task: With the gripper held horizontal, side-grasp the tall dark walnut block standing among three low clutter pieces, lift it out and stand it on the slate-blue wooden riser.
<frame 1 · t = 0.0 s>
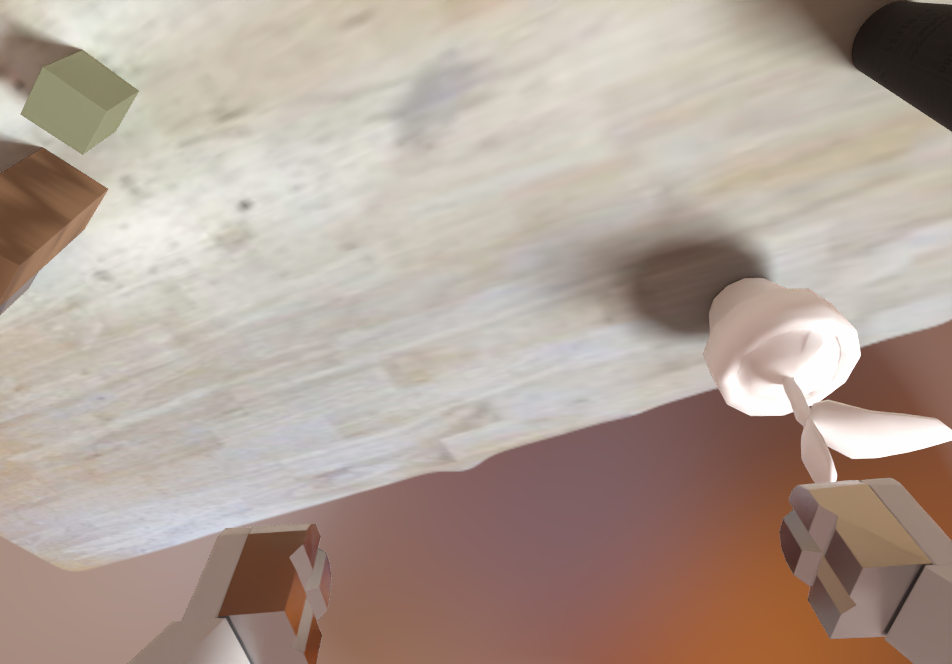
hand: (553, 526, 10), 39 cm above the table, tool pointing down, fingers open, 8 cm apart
walnut block: (64, 190, 46), on the table
olive block: (100, 91, 41), on the table
drinking cup: (884, 38, 41), on the table
potted plant: (746, 301, 55), on the table
mauve grey cube: (11, 257, 49), on the table
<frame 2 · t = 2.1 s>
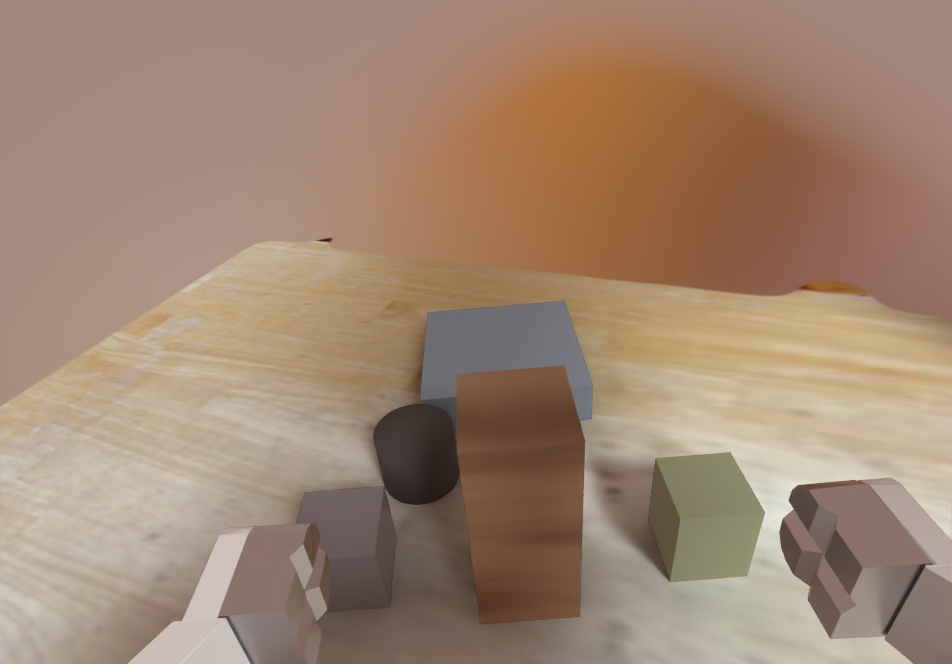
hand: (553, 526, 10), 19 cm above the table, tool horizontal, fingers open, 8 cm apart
charcoal cylinder: (422, 475, 37), on the table
walnut block: (524, 575, 30), on the table
slate riser: (502, 375, 46), on the table
olive block: (694, 546, 31), on the table
mauve grey cube: (354, 573, 32), on the table
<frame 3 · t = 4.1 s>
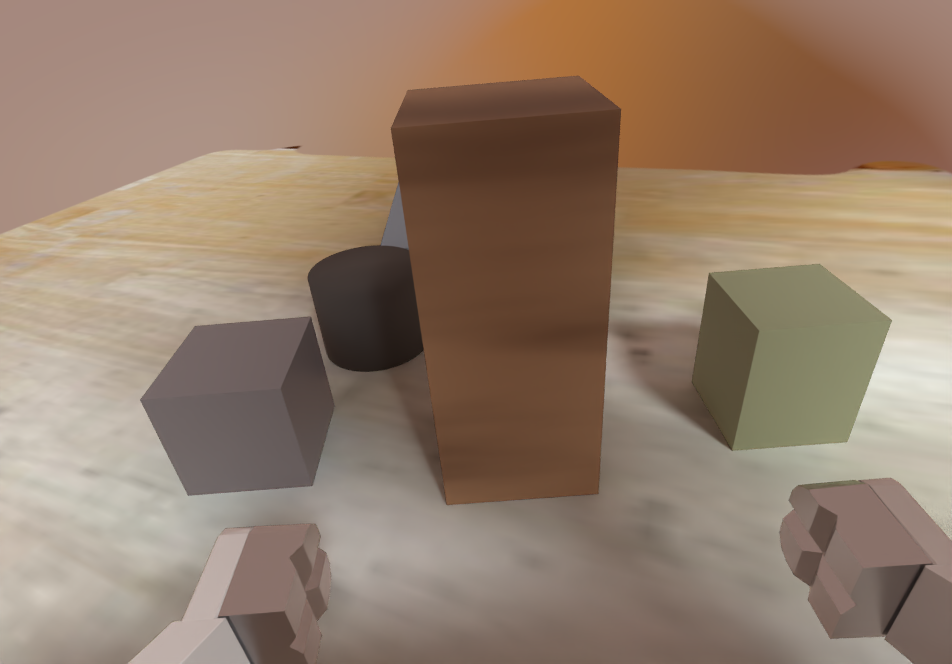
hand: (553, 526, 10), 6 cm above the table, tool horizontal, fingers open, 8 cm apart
charcoal cylinder: (378, 342, 28), on the table
walnut block: (515, 446, 21), on the table
slate riser: (491, 247, 36), on the table
olive block: (763, 410, 21), on the table
mauve grey cube: (268, 448, 22), on the table
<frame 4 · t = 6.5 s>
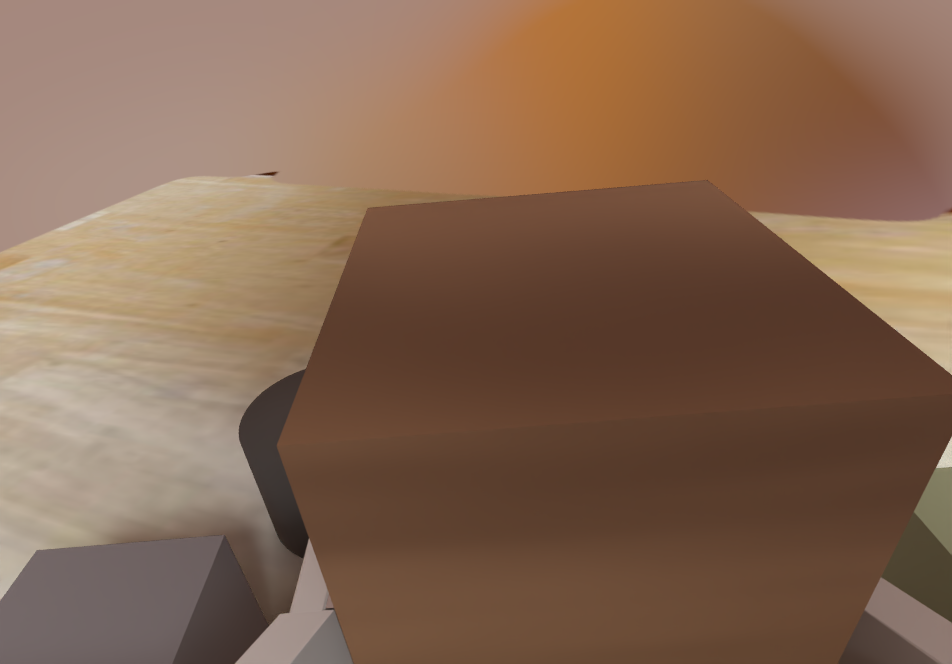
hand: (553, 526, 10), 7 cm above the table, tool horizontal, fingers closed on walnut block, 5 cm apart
charcoal cylinder: (349, 499, 19), on the table
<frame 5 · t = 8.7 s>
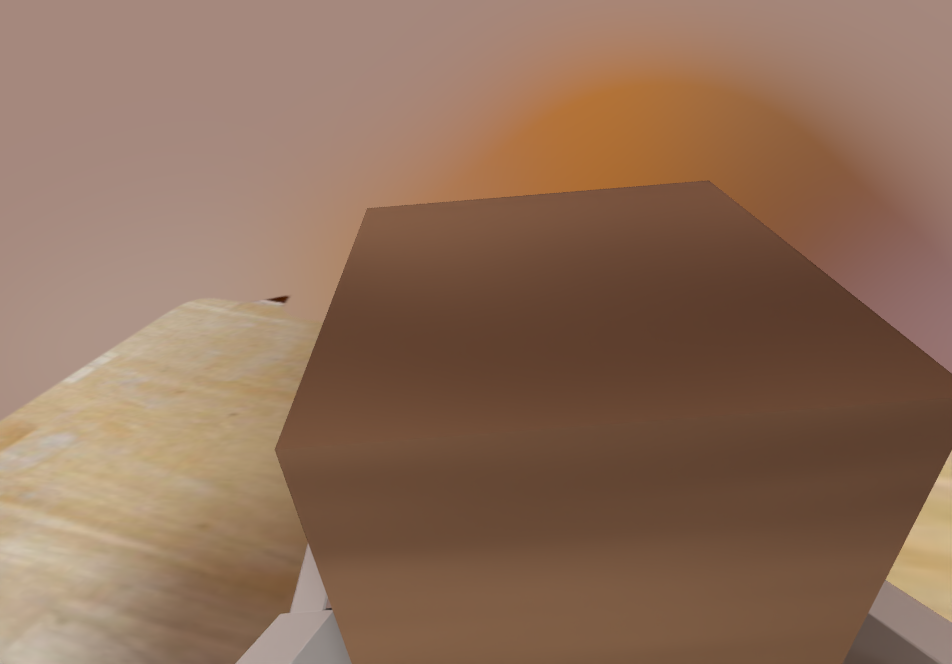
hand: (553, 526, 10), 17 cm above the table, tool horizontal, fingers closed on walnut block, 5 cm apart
when the fingers open (11 cm above the table, at t = 11.1 s): walnut block drops 1 cm, resting on slate riser.
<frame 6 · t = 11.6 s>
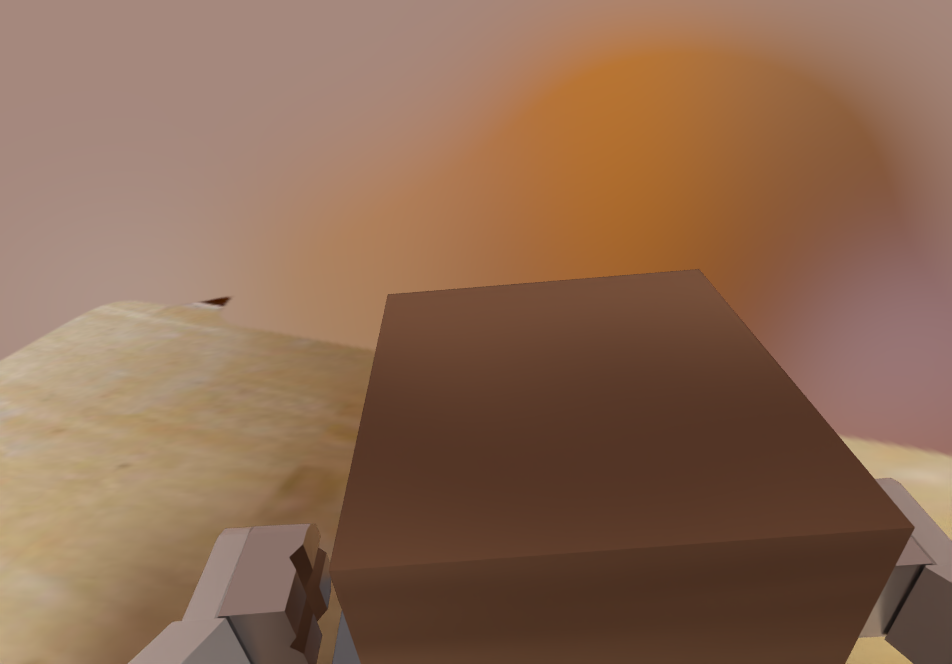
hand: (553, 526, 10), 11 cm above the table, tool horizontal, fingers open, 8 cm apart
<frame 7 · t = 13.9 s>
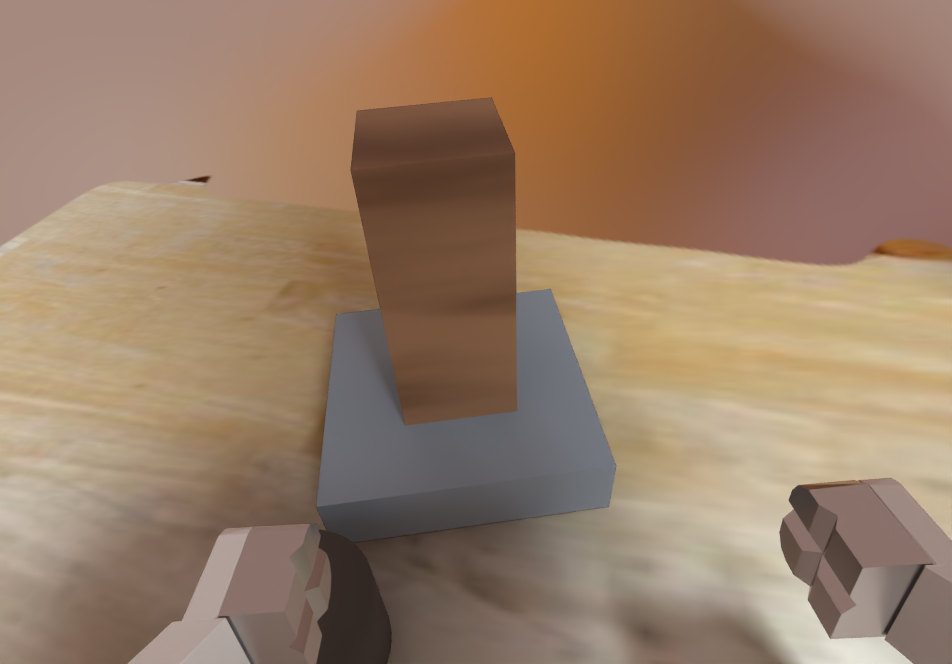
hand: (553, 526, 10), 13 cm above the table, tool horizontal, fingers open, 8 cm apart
charcoal cylinder: (324, 647, 21), on the table
walnut block: (456, 378, 27), point 3 cm above the table, touching slate riser
slate riser: (459, 419, 29), on the table
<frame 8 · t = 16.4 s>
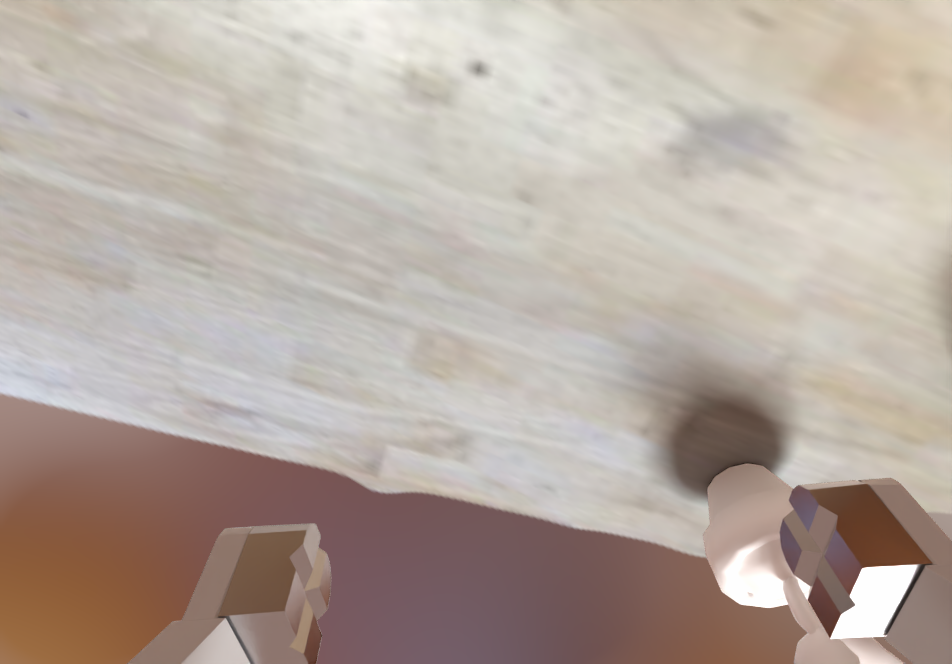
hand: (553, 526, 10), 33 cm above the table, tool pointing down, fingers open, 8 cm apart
potted plant: (740, 484, 58), on the table
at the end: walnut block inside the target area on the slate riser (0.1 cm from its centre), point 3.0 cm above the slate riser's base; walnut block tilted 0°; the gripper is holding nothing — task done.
